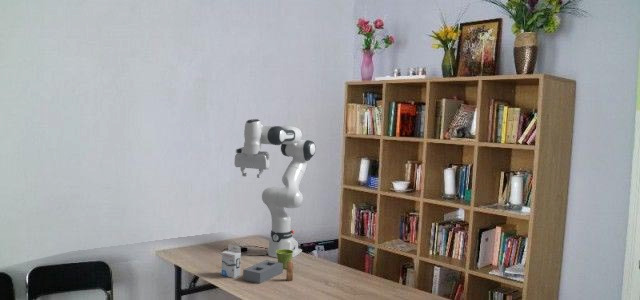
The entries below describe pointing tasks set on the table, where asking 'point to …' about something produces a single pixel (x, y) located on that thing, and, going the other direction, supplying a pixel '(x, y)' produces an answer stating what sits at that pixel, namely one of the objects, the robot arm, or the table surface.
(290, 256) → the plant pot
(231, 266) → the ink box
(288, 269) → the peg
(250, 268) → the hole block
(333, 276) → the table surface
